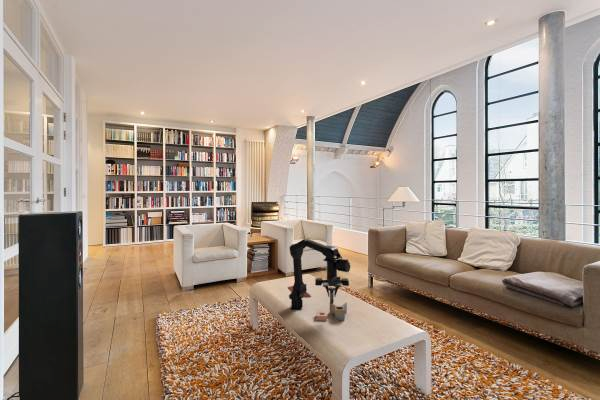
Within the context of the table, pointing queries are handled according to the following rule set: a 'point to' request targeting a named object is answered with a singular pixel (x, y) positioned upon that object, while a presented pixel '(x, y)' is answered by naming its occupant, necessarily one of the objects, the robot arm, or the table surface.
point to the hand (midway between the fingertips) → (331, 296)
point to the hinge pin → (331, 294)
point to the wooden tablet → (304, 295)
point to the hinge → (338, 311)
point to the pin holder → (321, 315)
